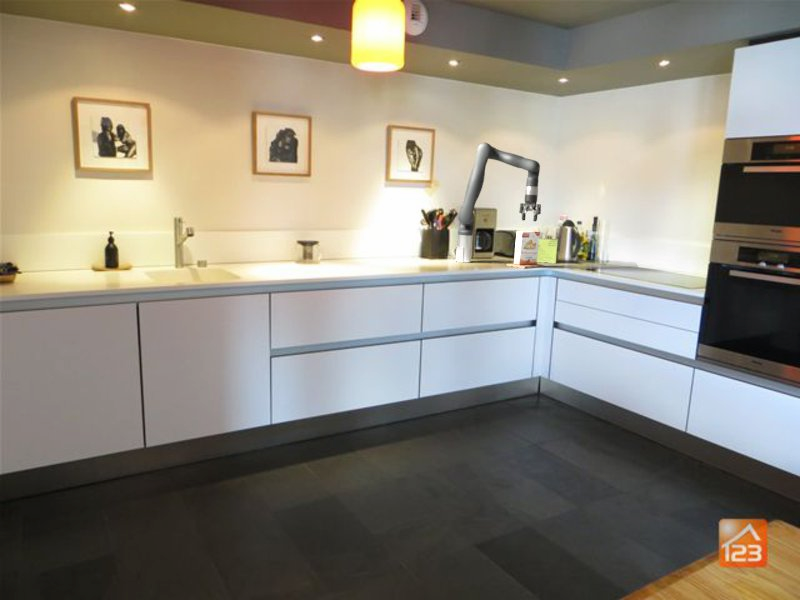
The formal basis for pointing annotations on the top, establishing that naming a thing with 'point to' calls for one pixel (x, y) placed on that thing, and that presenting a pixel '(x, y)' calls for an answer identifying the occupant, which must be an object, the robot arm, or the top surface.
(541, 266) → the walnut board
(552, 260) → the protein box
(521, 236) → the cracker box
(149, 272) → the top surface
